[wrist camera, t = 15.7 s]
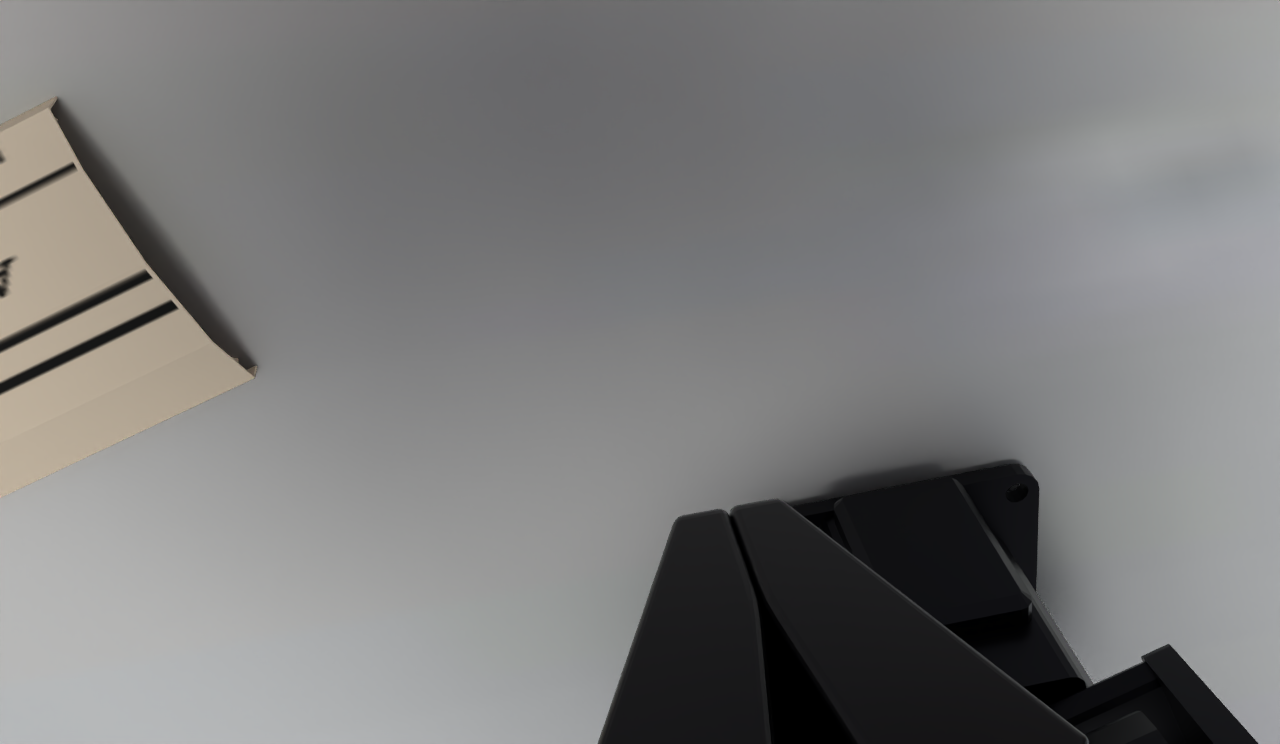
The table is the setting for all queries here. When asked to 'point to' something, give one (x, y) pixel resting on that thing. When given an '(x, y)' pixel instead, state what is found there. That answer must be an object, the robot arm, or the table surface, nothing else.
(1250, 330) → the table surface
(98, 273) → the newspaper
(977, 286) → the table surface
